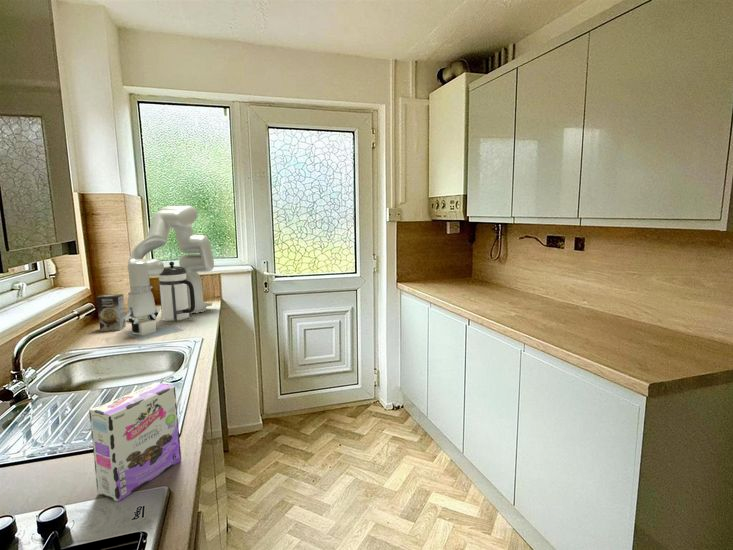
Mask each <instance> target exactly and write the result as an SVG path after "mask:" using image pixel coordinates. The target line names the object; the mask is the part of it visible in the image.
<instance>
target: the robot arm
mask: <svg viewBox="0 0 733 550" xmlns="http://www.w3.org/2000/svg"><path fill="white" fill-rule="evenodd" d="M197 217H198V211H197V209H196V208H195V207H194V206H192V205H168V206H166V205H165V206H163V207H161V208H160V210H158V211H156V212H154V214H153V217H152V219H151V222H150V227H149V229H148V233H147V236H146V237H145V238H144V239H143V240H142V241H140V242H139V243H138V244H137V245H136V246H135V247H134V248H133V250H132V251H131V252H130V257H129V259H128V262H127V271H128V279H129V289H130V292H131V294H129V295H128V297H127V312H125V315H124V318H125V320H126V322H128V323H129V324H131V329H132V330H131V332H134V333H139V327H138V324H137V321H138V318H139V317H142V316H147V315H148V316H149V317H150V319H149V320H155V321H156V319H157V317H158V315H159V312H160V311H161V307H158V306H157V305H156V303H155V296H154V294H153V291H152V290H151V289H153V285H151V280H150V277H157V276H159V275H160V274H161V273H162V272H163V270H164V267H165V265H164V262H163V261H161V260H160V259H157V258H144V257H145V256H147V255H148V254H149V253H151V252H152V251H155V250H157V249H159V248H162V247H163V246H165V245H166V244H167V243H168V239H169V236H170V232H171V230H172V229H173V230H174V234H175V237H176V242H177V246H178V250H179V252H181V253H183V255H182V256H181V257H180V258H179V260H178V261H179V262H178V263H179V265H178V266H180V267H183V268H184V269H185V270H186V271H187V273H186V278H187V281H190V282H191V283H192V285H193V288H194V296H195V309H194V311H193V312H190V315H193V314H192V313H196V314H200V313H199V312H202V313H205V312H207V311H208V309H207V307H212V306H213V303H212V301H211V302H205V301H204V296H203V295H204V291H203V280H202V278H201V276H200V274H199V273H205V272H211V271H212V270H213V269H214V268H215V267H214V266H215V261H214V255H213V251H212V244H211V241H210V239H209V237H208V236H206V234H205V235H203V234H195V233H194V231H193V227H192V224H194V223H195V222H196V221H197ZM187 287H188V291H187V293H188V299H189V304H188V306H189V309H190V308H191V300H190V289H189V286H188V285H187ZM130 292H129V293H130ZM206 310H207V311H206ZM204 311H205V312H204ZM131 317H132V318H131Z"/></svg>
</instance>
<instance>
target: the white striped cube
mask: <svg viewBox="0 0 733 550" xmlns="http://www.w3.org/2000/svg"><path fill="white" fill-rule="evenodd" d="M137 324H138V327H139V333H134V332H133V331H132V332H133V334H138V335H146V334H149V333H153V332H156V327H157V326H156V325H157V323H156V319H155V320H149V319H144V320H140V321H137Z"/></svg>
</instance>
